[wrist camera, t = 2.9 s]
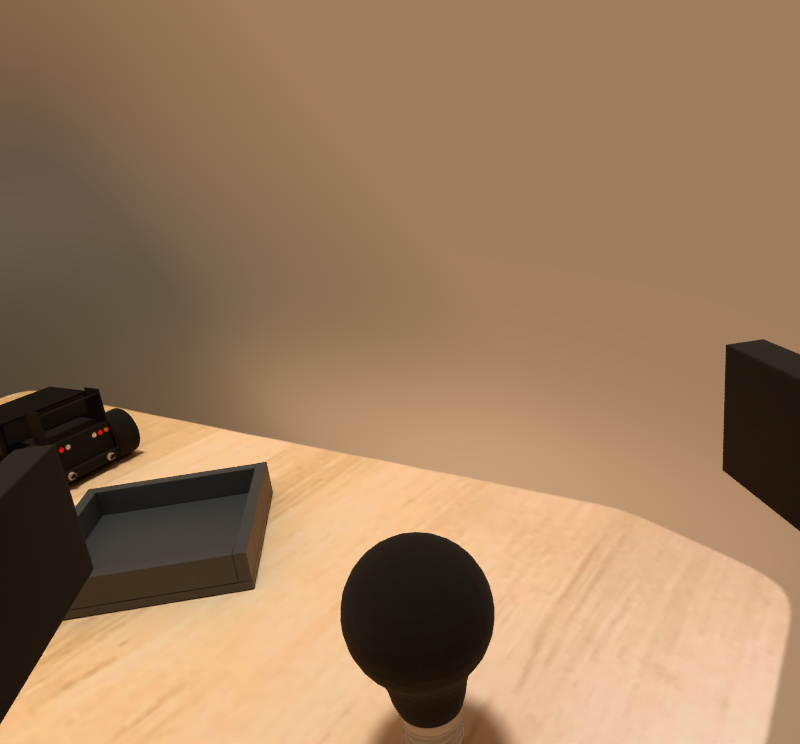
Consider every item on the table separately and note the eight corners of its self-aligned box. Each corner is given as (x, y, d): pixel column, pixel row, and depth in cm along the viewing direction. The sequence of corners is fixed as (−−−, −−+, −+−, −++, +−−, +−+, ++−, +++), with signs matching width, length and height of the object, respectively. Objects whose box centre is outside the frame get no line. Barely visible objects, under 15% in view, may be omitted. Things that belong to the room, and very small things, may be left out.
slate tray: (272, 491, 52) (266, 461, 51) (254, 588, 40) (245, 551, 40) (97, 519, 52) (88, 489, 51) (25, 626, 40) (12, 589, 39)
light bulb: (514, 704, 30) (496, 505, 27) (499, 830, 24) (474, 600, 21) (388, 691, 31) (357, 502, 28) (348, 807, 26) (305, 590, 23)
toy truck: (26, 431, 74) (6, 369, 71) (146, 452, 63) (126, 380, 61) (-76, 474, 65) (-103, 405, 63) (43, 507, 55) (16, 425, 53)
